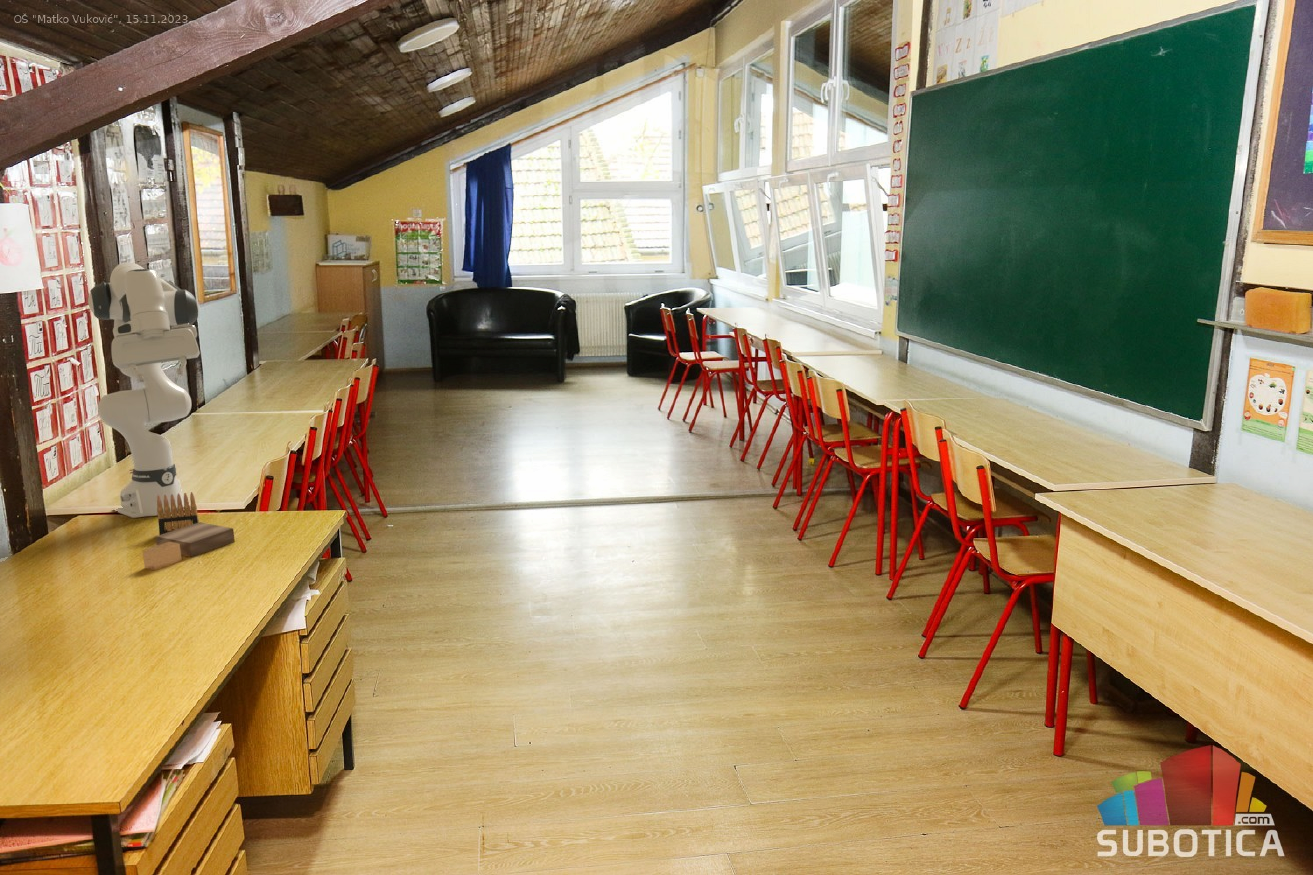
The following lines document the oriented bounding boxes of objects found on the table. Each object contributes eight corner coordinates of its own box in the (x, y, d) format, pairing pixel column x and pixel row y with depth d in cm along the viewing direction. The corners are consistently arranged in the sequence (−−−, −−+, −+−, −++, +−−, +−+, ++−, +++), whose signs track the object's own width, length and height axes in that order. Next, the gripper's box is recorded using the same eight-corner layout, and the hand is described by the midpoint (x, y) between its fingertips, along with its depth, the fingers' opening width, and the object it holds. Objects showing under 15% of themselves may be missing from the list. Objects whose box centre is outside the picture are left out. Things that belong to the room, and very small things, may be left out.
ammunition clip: (200, 529, 285) (195, 490, 283) (199, 531, 283) (194, 492, 281) (160, 534, 282) (155, 494, 279) (159, 536, 280) (154, 496, 277)
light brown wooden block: (144, 568, 254) (142, 550, 253) (172, 559, 261) (169, 541, 260) (154, 570, 252) (152, 552, 251) (181, 561, 259) (179, 543, 258)
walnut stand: (157, 549, 268) (155, 536, 267) (201, 535, 280) (199, 522, 279) (191, 557, 261) (189, 543, 261) (234, 541, 274) (233, 528, 273)
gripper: (196, 326, 257) (206, 375, 255) (110, 337, 249) (119, 388, 247) (193, 318, 251) (203, 368, 249) (105, 329, 243) (115, 381, 241)
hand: (161, 378), depth 248 cm, fingers open, 8 cm apart
